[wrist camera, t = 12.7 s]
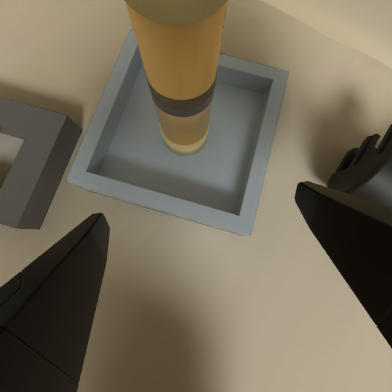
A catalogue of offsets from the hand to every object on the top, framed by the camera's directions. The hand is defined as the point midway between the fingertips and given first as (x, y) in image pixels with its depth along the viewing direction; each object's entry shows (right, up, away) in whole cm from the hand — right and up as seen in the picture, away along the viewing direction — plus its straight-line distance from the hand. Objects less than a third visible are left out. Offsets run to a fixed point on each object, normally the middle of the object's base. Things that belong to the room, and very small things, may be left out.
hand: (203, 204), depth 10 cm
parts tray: (-1, +6, +11) cm, 12 cm away
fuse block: (-18, +3, +10) cm, 21 cm away
